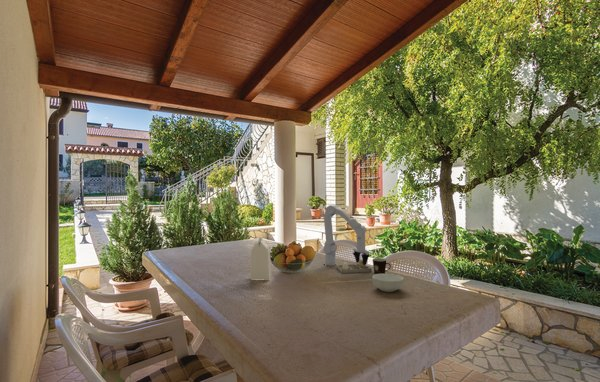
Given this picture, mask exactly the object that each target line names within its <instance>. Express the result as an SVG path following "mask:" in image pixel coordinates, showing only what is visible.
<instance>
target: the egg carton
mask: <svg viewBox="0 0 600 382" xmlns="http://www.w3.org/2000/svg"><path fill="white" fill-rule="evenodd" d="M335 266H336V270H338V271H339V272H340V273H341V274H353V273H369V272H370V273H371V272H372V268H371V267H369V266H368V265H367V264H366V265H364V266H358V263H355V264H354V263H353V264H348V266H349V269H347V270H343V269H342V266H343V264H336V265H335Z"/></svg>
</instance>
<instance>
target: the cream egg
mask: <svg viewBox="0 0 600 382" xmlns="http://www.w3.org/2000/svg"><path fill="white" fill-rule="evenodd" d="M342 265H343V266H342V269H343V270H347V269H349V266H348V265H349V263H348V262H345V261H344V262H343V263H342Z"/></svg>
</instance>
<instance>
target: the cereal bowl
mask: <svg viewBox="0 0 600 382" xmlns="http://www.w3.org/2000/svg"><path fill="white" fill-rule="evenodd" d="M404 280H405V279H404V277H403V276H402V275H399V274H393V273H392V274H391V273H385V274H373V275H372V277H371V281H372V284H373V286H374V287H376V288H377V289H379V290H380V291H382V292H385V293H386V292H388V293H393V292H395V291H397V290H400V289H401V288H403V286H404Z"/></svg>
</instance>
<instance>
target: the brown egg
mask: <svg viewBox="0 0 600 382" xmlns="http://www.w3.org/2000/svg"><path fill="white" fill-rule="evenodd" d="M357 264H358V266H364V265H363V259H361V258H360V260H359V262H358V263H357Z"/></svg>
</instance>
